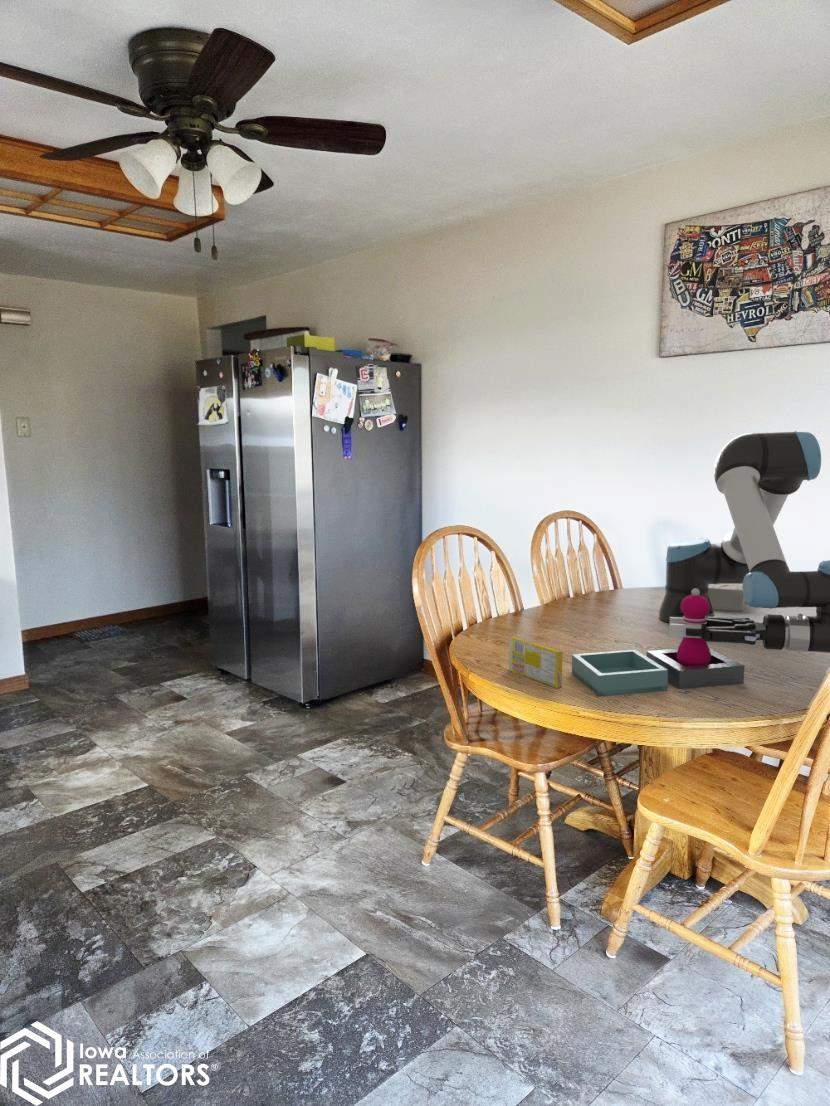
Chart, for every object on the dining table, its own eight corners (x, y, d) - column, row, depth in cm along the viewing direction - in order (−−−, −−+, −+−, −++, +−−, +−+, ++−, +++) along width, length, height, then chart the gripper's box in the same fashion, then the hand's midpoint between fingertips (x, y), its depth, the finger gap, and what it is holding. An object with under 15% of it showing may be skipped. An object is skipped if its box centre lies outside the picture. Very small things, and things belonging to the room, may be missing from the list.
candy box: (563, 687, 156) (563, 650, 155) (556, 689, 155) (556, 652, 154) (514, 668, 170) (514, 634, 169) (507, 670, 169) (507, 636, 168)
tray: (634, 668, 167) (635, 649, 166) (667, 690, 152) (667, 669, 151) (571, 673, 165) (571, 654, 164) (598, 696, 150) (598, 675, 149)
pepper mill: (715, 680, 157) (718, 591, 154) (682, 680, 157) (685, 592, 154) (703, 669, 164) (705, 584, 161) (671, 670, 165) (673, 585, 161)
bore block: (705, 662, 169) (706, 646, 169) (743, 683, 155) (744, 665, 154) (646, 667, 167) (646, 650, 167) (679, 688, 153) (679, 670, 152)
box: (744, 613, 216) (752, 591, 244) (745, 588, 215) (752, 569, 243) (664, 608, 227) (680, 587, 255) (664, 584, 226) (680, 566, 254)
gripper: (778, 605, 161) (669, 601, 169) (791, 626, 144) (670, 620, 152) (777, 638, 162) (669, 632, 170) (790, 662, 145) (669, 654, 153)
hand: (669, 626), depth 161 cm, fingers open, 5 cm apart
